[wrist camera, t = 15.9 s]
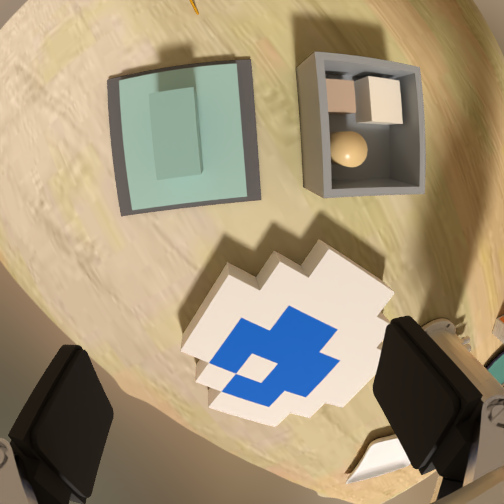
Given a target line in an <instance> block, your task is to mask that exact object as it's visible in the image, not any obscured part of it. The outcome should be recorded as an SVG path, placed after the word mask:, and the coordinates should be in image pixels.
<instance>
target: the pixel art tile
mask: <svg viewBox="0 0 504 504" xmlns="http://www.w3.org/2000/svg"><path fill="white" fill-rule="evenodd" d="M394 293H395V292H394V291H393V290H392V289H391V288H390V287H388V286H387V285H386V284H385V283H384V282H383V281H382V280H380V279H379V278H377V277H376V276H374V275H373V274H371V273H370V272H369V271H367V270H366V269H364V268H363V267H361V266H360V265H358V264H357V263H355V262H354V261H352V260H351V259H349V258H348V257H346V256H345V255H343V254H341V253H340V252H338V251H337V250H335V249H334V248H332V247H331V246H329V245H328V244H326V243H325V242H323V241H321V240H320V239H318V241H317V242H316V244H315V245H314V247H313V248H312V250H311V251H310V253H309V254H308V255H307V257H306V258H305V260H304V261H303V263H302V264H301V266H300V265H299V264H297V263H295V262H294V261H292V260H290V259H288V258H287V257H285V256H283V255H281V254H280V253H278V252H276V251H273V253H272V254H271V256H270V257H269V258H268V260H267V261H266V263H265V264H264V266H263V267H262V269H261V270H260V272H259V273H258V275H257V276H256V277H255V276H253V275H251V274H249V273H247V272H245V271H244V270H242V269H240V268H238V267H236V266H234V265H232V264H230V263H229V262H227V264H226V265H225V267H224V269H223V270H222V272H221V273H220V275H219V277H218V278H217V280H216V281H215V283H214V285H213V286H212V288H211V289H210V291H209V293H208V294H207V296H206V297H205V299H204V301H203V302H202V304H201V305H200V307H199V309H198V310H197V312H196V313H195V315H194V317H193V318H192V320H191V322H190V323H189V325H188V326H187V328H186V330H185V331H184V333H183V336H182V343H181V350H180V351H182V352H184V353H186V354H189V355H191V356H193V357H196V358H198V359H200V360H199V361H198V363H197V364H196V376H195V382H197V383H200V384H202V385H205V386H207V387H210V388H209V390H208V407H209V408H212V409H215V410H218V411H221V412H224V413H227V414H231V415H234V416H237V417H240V418H244V419H247V420H251V421H255V422H258V423H262V424H266V425H270V426H274V427H276V426H277V425H278V424H279V423H280V422H281V421H282V420H283V419H284V418H285V417H286V416H288V415H289V414H290V413H292V414H296V415H299V416H303V417H307V418H310V417H311V416H312V415H313V414H314V413H315V412H316V411H317V410H318V409H319V408H321V407H322V406H323V405H324V404H325V403H327V404H331V405H334V406H338V407H342V408H343V407H344V406H345V405H346V404H347V403H348V402H349V401H350V400H351V399H352V398H353V397H354V396H355V395H356V394H357V393H358V392H359V391H360V390H361V389H362V388H363V387H364V386H365V385H366V384H367V383H368V381H369V380H370V379H371V378H372V377H373V376H374V375H375V374H376V371H377V367H378V363H379V359H380V354H381V350H382V345H383V343H382V341H383V339H384V335H385V330H386V326H387V325H388V324H390V321H389V320H388V319H387V318H386V317H385V316H384V315H383V313H381V310H382V309H383V308H384V307H385V305H386V304H387V303H388V301H389V300H390V299H391V297H392V296H393V294H394Z"/></svg>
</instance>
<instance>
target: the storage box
mask: <svg viewBox="0 0 504 504" xmlns="http://www.w3.org/2000/svg"><path fill="white" fill-rule="evenodd" d="M296 77H297V89H298V101H299V115H300V130H301V146H302V166H303V187H304V188H306V189H308V190H309V191H311V192H313V193H315V194H317V195H319V196H321V197H322V198H335V197H354V196H375V195H404V194H425V162H426V153H425V120H424V104H423V92H422V82H421V74H420V67H416V66H411V65H407V64H402V63H397V62H392V61H387V60H381V59H375V58H369V57H362V56H355V55H346V54H337V53H326V52H314V53H312V54H311V55H310V56H309V57H308V58H307V59H306V60H304V61H303V62H302V63H301V64H300V65H299V66H298V67H297V68H296Z"/></svg>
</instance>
